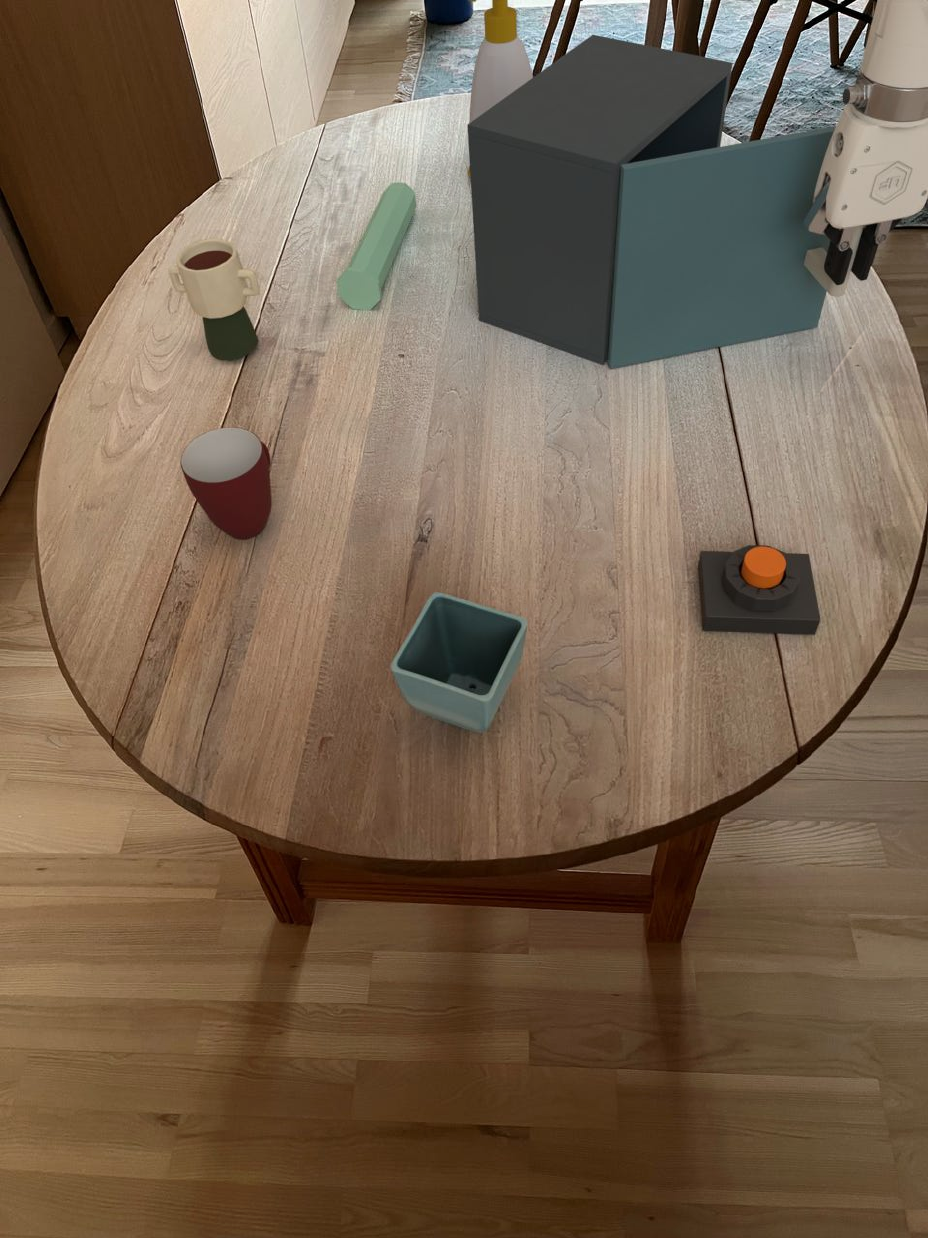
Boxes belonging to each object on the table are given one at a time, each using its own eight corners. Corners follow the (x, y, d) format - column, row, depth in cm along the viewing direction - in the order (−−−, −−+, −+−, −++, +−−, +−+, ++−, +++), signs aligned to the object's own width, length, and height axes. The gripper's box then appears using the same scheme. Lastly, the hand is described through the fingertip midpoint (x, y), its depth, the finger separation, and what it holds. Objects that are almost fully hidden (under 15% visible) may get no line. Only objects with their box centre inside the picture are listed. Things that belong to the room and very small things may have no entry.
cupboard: (703, 259, 124) (732, 62, 105) (603, 365, 112) (615, 163, 93) (585, 224, 131) (592, 34, 112) (478, 320, 119) (467, 124, 100)
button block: (804, 568, 90) (813, 540, 87) (815, 635, 86) (825, 607, 82) (697, 565, 92) (703, 537, 88) (702, 631, 87) (708, 603, 84)
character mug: (284, 335, 120) (260, 239, 109) (267, 370, 115) (240, 273, 105) (204, 330, 121) (173, 235, 111) (184, 364, 117) (150, 269, 107)
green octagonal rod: (388, 166, 132) (341, 261, 117) (427, 183, 133) (386, 280, 118) (377, 203, 137) (331, 300, 122) (416, 219, 138) (374, 317, 123)
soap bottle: (451, 180, 141) (435, -21, 121) (499, 149, 146) (492, -49, 126) (510, 202, 136) (504, -5, 116) (558, 168, 141) (560, -35, 121)
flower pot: (531, 679, 85) (530, 617, 78) (493, 760, 80) (489, 702, 73) (442, 651, 87) (433, 589, 80) (400, 727, 82) (387, 668, 75)
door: (844, 360, 109) (907, 155, 90) (629, 404, 107) (648, 203, 88) (813, 322, 114) (866, 119, 95) (607, 363, 112) (620, 164, 93)
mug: (233, 479, 103) (208, 407, 96) (302, 487, 102) (282, 414, 94) (196, 549, 97) (166, 478, 89) (269, 559, 96) (245, 487, 88)
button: (779, 559, 87) (783, 546, 85) (784, 589, 84) (788, 576, 83) (739, 558, 87) (742, 545, 86) (742, 588, 85) (746, 575, 83)
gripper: (835, 124, 82) (790, 309, 97) (1002, 96, 84) (932, 281, 98) (797, 89, 87) (759, 270, 101) (956, 62, 88) (896, 244, 103)
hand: (845, 274), depth 100 cm, fingers closed on door, 2 cm apart
